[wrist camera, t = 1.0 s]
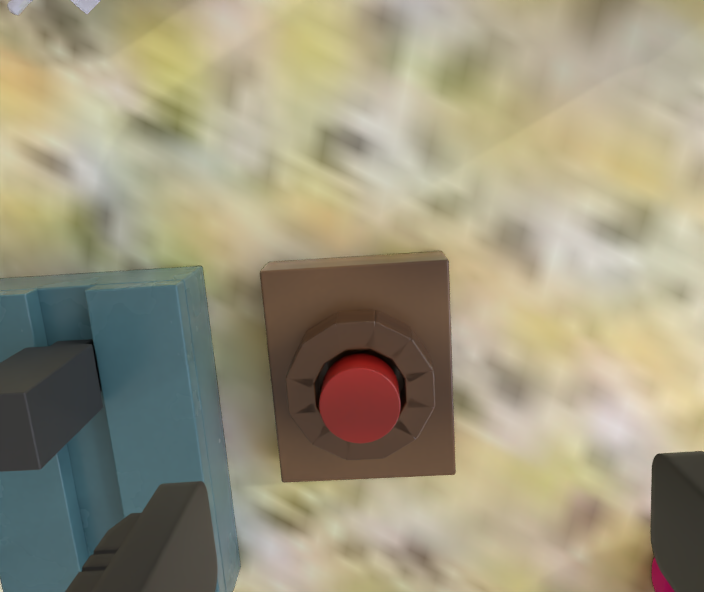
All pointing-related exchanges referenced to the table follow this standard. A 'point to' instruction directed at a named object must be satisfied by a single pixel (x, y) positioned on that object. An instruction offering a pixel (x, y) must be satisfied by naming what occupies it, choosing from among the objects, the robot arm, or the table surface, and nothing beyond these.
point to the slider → (46, 401)
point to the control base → (116, 418)
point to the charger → (18, 3)
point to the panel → (361, 338)
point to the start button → (360, 398)
